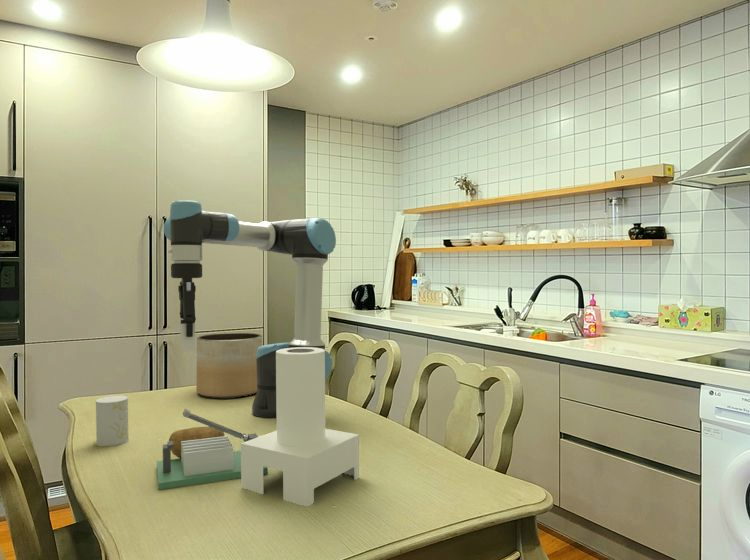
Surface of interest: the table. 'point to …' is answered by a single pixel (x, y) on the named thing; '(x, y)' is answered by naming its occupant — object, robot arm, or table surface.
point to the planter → (227, 364)
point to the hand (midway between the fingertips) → (187, 346)
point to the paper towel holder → (300, 432)
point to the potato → (192, 436)
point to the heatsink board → (199, 478)
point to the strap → (214, 425)
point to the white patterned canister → (112, 420)
